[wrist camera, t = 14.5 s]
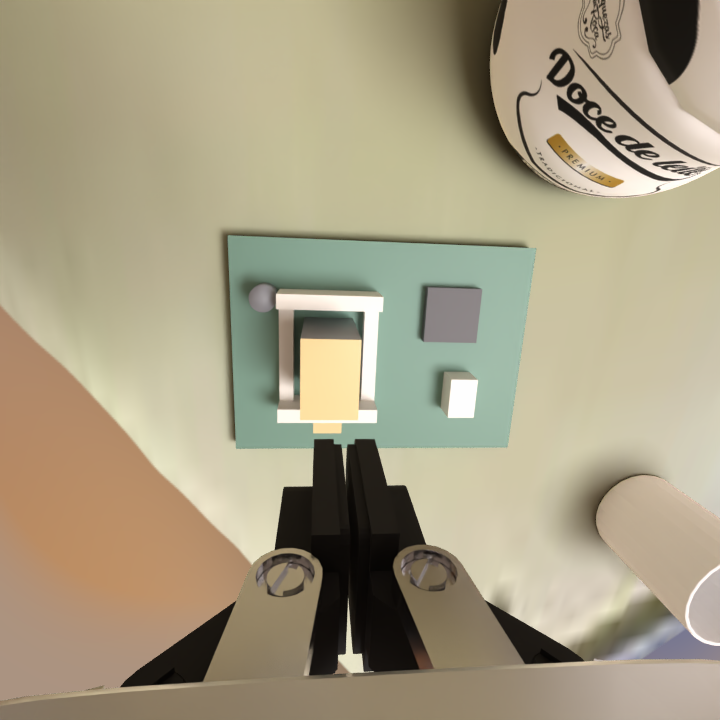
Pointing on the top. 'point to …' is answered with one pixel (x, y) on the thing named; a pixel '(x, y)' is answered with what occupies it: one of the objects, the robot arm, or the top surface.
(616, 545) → the mug
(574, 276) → the top surface
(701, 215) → the top surface
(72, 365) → the top surface
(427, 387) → the board
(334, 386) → the plug
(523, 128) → the milk container
